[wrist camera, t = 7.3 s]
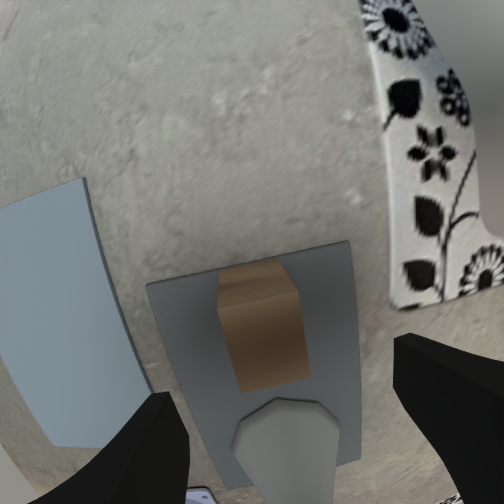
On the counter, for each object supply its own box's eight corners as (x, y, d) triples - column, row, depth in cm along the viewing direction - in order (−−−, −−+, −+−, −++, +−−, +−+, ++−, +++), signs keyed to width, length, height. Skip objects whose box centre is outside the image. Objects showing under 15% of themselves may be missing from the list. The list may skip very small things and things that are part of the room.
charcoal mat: (359, 455, 21) (381, 502, 16) (226, 485, 21) (229, 537, 16) (346, 240, 17) (394, 266, 12) (146, 283, 17) (117, 327, 11)
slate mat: (176, 441, 19) (176, 444, 19) (55, 442, 19) (53, 445, 19) (84, 177, 15) (81, 177, 15) (-39, 228, 15) (-43, 229, 14)
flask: (356, 415, 20) (413, 524, 10) (295, 474, 21) (321, 578, 11) (271, 380, 18) (306, 521, 9) (212, 449, 19) (213, 572, 10)
